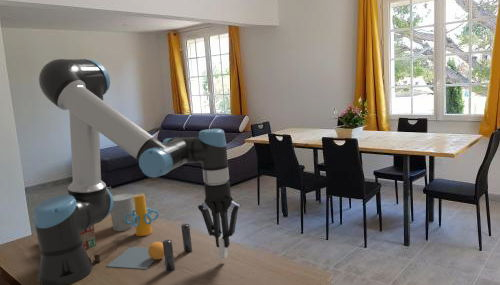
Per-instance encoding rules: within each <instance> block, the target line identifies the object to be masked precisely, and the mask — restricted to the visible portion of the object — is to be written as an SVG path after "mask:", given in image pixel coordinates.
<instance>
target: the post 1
mask: <svg viewBox="0 0 500 285" xmlns="http://www.w3.org/2000/svg"><path fill="white" fill-rule="evenodd" d="M162 243H163V248H164V256H163V257H164V263H165V272H168V273H172V272H174V271H175V270H176V264H175V258H174V257H175V256H174V249H173V241H172V239H165V240H163V241H162Z"/></svg>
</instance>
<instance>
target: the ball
mask: <svg viewBox="0 0 500 285" xmlns="http://www.w3.org/2000/svg"><path fill="white" fill-rule="evenodd" d="M148 248H149V249H148V254H149V256H150V257H151V258H152V259H155V261H157V260H160V259H163V258H164V257H165V256H164V248H163V242H161V241H154V242H152V243H151V244H150V245H149V246H148Z"/></svg>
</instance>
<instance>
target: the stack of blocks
mask: <svg viewBox="0 0 500 285" xmlns="http://www.w3.org/2000/svg"><path fill="white" fill-rule="evenodd" d="M81 237H82V243H83V247H84V248H85V250H88V249H91V248H93V247H95V246H97V240H96V234H95V224H94V225H93V226H91V227H89V228H87V229H86V230H84V231H82V232H81Z"/></svg>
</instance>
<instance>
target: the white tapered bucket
mask: <svg viewBox="0 0 500 285" xmlns="http://www.w3.org/2000/svg"><path fill="white" fill-rule="evenodd" d="M134 195H135V194H133V193H132V192H131V193H127V192H126V193H119V194H118V193H117V194H114V195H112V196H113V208H112V211H111V213H110V216H111V224H112V230H113V231H115V232H124V231H131V230H132V229H135V227H134V226H133V224H128V223H126V221H125V217H126V215H127V214H129V213H132V212H133V210H135V204H134ZM134 214H135V215H136V212H134ZM132 219H133V215H130V216H128V217H127V220H128V222H132Z"/></svg>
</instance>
